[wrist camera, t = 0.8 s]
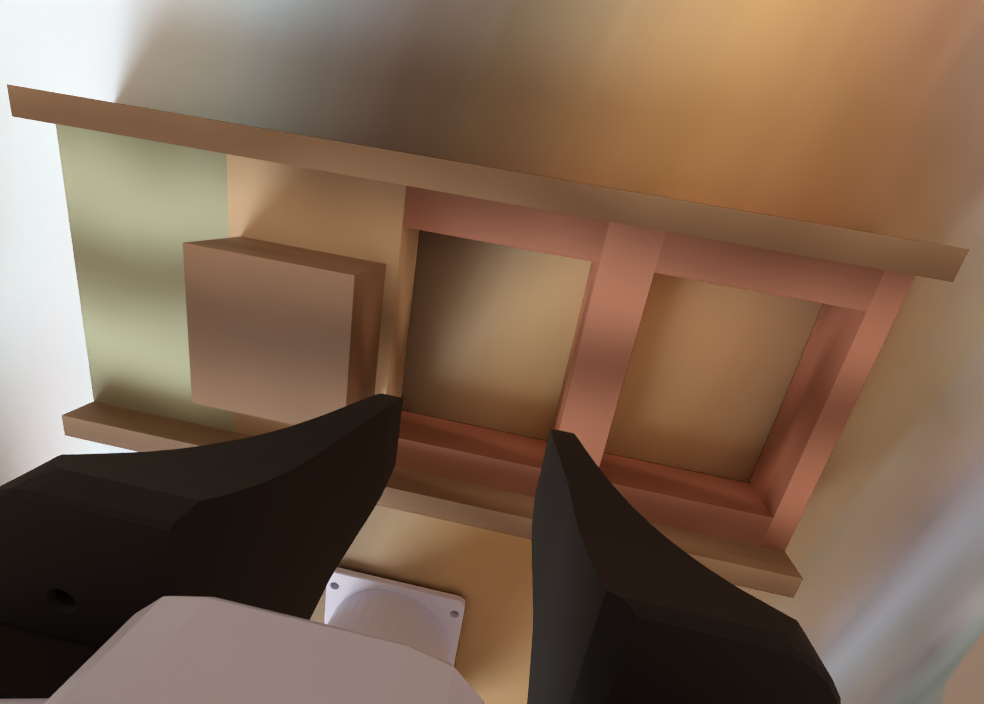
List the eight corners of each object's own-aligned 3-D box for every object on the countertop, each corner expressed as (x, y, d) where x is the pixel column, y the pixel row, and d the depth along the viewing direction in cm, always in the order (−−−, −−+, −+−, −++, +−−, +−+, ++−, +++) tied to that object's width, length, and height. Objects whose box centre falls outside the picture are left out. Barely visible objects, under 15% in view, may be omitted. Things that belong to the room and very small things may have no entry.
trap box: (751, 530, 22) (793, 597, 18) (141, 398, 24) (65, 435, 20) (878, 239, 17) (968, 249, 14) (112, 107, 20) (6, 84, 16)
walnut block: (373, 401, 20) (344, 435, 17) (242, 374, 20) (192, 403, 17) (386, 264, 18) (354, 275, 15) (240, 236, 18) (182, 242, 15)
